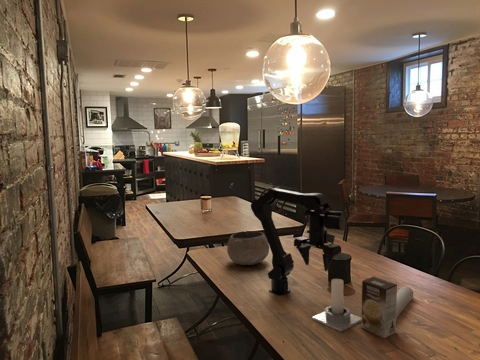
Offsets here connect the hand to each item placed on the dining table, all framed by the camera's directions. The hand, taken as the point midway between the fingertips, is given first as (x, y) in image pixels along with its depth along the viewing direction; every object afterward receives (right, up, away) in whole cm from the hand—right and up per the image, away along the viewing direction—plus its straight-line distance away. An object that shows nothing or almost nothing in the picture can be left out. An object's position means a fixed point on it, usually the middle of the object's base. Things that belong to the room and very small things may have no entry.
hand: (316, 267), depth 150 cm
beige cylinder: (+4, -14, -15) cm, 20 cm away
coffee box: (+16, -15, -22) cm, 31 cm away
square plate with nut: (+4, -15, -15) cm, 21 cm away
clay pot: (-25, -9, +48) cm, 55 cm away
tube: (+29, -14, -6) cm, 32 cm away
